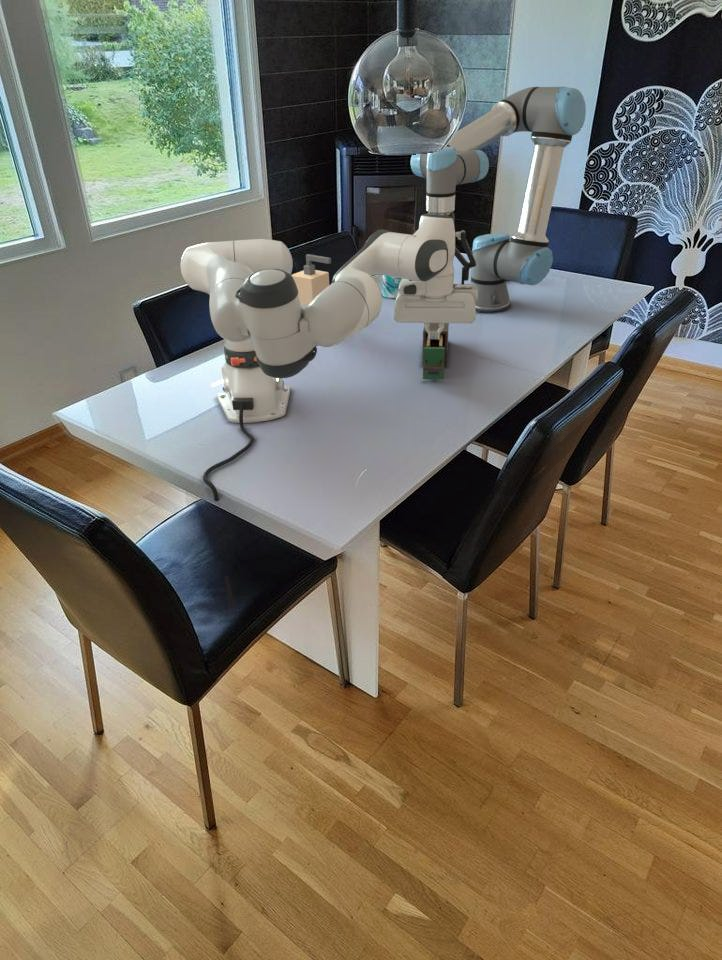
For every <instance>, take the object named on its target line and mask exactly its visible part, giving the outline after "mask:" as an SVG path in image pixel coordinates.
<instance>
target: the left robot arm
mask: <svg viewBox="0 0 722 960" xmlns="http://www.w3.org/2000/svg"><path fill="white" fill-rule="evenodd" d="M415 231H416V230H415ZM455 232H456V228H455V221H454V222H453V219H452V218H451V217H450V216H448V215H440V214H427V213H424V214H422V215H420V218H419V223H418V229H417V231H416V233H415V232H414V233H413V234H408V233H400V232H394V231H391V230H387V229H382V228H381V229H377V230H375V231H374V232H373V233H372V234H371V235H370V236H369V237H368V239H367V240H366V241H365V242H364V244H363V245H362V247H361V248H360V249H359V250H358V251H357V252H356V253H355V254H354V255H353V256H351V257H350V258H349V259H348V260H347V261H346V262H345V263H344V264H343V265H342V266H341V267H340V268H339V269H338V270H337V271H336V272H335V273H334V275H333V277H332V279H331V283H330V284H329V286H328V287H327V288H325V289H324V290H323V291H322V292H320V293H319V294H318V295H317V296H316V297H315V298H314V299H313V300H312V301H311V302H310V303H309V304H307V305H303V306H301V305H300V301H299V298H298V289H297V286H296V283H295V281H294V279H293V277H292V275H293V274H292V272H293V269H294V268H293V267H294V265H293V264H294V263H293V262H294V261H293V257H292V254H291V251H290V249H289V247H288V246H287V245H286V244H285V243H284V242H283V241H281V240H275V239H269V238H254V239H253V238H252V239H238V240H226V241H223V240H222V241H210V242H204V243H199V244H195V245H192V246H188V247H187V248H186V249H185V250H184V251H183V253H182V256H181V259H180V266H179V267H180V273H181V276H182V279H183V280H184V281H185V283H186V284H187V286H188V287H189V288H191V289H192V290H194V291H198V292H202V293H205V294H208V295H209V301H208V302H209V304H208V306H209V316H210V321H211V323H212V326H213V329H214V331H215V332H216V333H217V335H218V336H219V337H221V338H222V339H223V340H224V345H223V355H224V359H225V363H224V364H223V365H222V366H221V367H220V369H221V377H222V379H220V380H218V381H216V382H213V383H211V387H212V388H213V387H216V386H219V385H220V384H223V386H222V392H219V393H218V394H217V401H218V403H219V404H220V405H219V406H220V407H221V409H222V411H223V413H224V415H225V418H226V419H227V421H228V422H229V423H235V424H236V423H237V424H239V428H240V430H241V432H242V433H243V434H244V435H245V436H246V437H247V438H248V439H249V442H248V443H247V444H246V445H245V446H244V447H242V448H241V449H240V450H239V451H237V452H236V453H234V454H233V455H231V456H230V457H228V458H225V459H224V460H221V461H219V462H217V463H215V464H213V465H211V466H210V467H208V468H207V469H206V470H205V471H204V473H203V475H202V480H203V482H204V483H205V484H206V485H207V486H208V487H209V488H210V489H211V492H212V494H213V498H214V499H213V500H214V501H215V502H218V501H219V500H220V499H219V493H218V490H217V488H216V486H215V485H214V484H213V482H212V481H211V480H210V479H208V476H209V475H210V473H211V472H212V471H214V470H216V469H218V468H220V467H223V466H224V465H227V464H228V463H230V462H232V461H234V460H236V459H237V458H238V457H240V456H241V455H243V454H244V453H245V452H247V451H248V450H249V449H250V448H251V447H252V446H253V444H254V441H255V440H254V439H255V438H254V436H253V435H252V434H250V433H249V432H248V431H247V430H246V429H245V426H244V424H249V423H258V422H266V421H272V420H276V419H279V418H283V417H284V416H285V415H286V413H287V409H288V405H289V399H290V396H291V392H292V391H291V387H290V386H288V385H285V381H284V380H282V379H287V378H292V377H294V376H296V375H298V374H300V373H301V372H302V371H303V370H304V369H305V368H307V366H308V365H309V364H310V363H311V362H312V361H313V360H314V359H315V358H316V356H317V354H318V347H322V348H331V347H334V346H336V345H339V344H341V343H344V342H346V341H347V340H349V339H351V338H353V337H354V336H356V335H358V334H359V333H360V332H362V331H363V330H364V329H366V328H367V327H368V326H370V325H371V324H372V323H373V322H374V321H375V320H376V319H377V318H378V317H379V315H380V313H381V310H382V307H383V306H382V305H383V297H382V296H383V295H382V292H381V289H380V286H379V285H378V283H377V281H376V280H375V279H374V278H373V276H383V275H385V276H391V277H397V278H403V279H402V280H401V282H400V284H399V292H398V294H397V297H396V298H395V300H394V306H393V320H394V322H395V323H398V324H399V323H400V324H401V323H403V324H407V323H408V324H413V323H414V324H423V329H424V328H425V330H426V331H427V333H428V339H429V340H430V339H434V340H440V333H441V332H442V330H443V328H444V325H445V323H449V324H473V323H474V322H475V321H476V316H477V311H476V307H475V302H476V301H477V300H478V293H479V292H478V289H477V288H476V287H475V286H473V285H472V284H470V283H466V284H465V283H464V284H461V283H455V268H454V258H455V247H456V237H455ZM472 288H475V289H472ZM430 323H439V329H438V331H431V330H430V328H429V326H430ZM223 578H224V582H225V587H226V592H227V597H228V603H229V607H230V609H231V608H232V609H233V608H234V609H235V605H234V598H233V594H232V589H231V583H230V577H229V575H225V576H224V577H223Z"/></svg>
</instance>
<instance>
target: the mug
mask: <svg viewBox="0 0 722 960" xmlns="http://www.w3.org/2000/svg"><path fill="white" fill-rule="evenodd" d="M402 279H403V278H397V277H391V276H385V275H382V296H383V297H385V298H388V299H396V297H397V294H398V292H399V284H400V282H401V280H402Z"/></svg>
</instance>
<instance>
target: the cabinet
mask: <svg viewBox="0 0 722 960" xmlns="http://www.w3.org/2000/svg"><path fill="white" fill-rule="evenodd" d="M449 325H450V323H445V325H444V328H443V330H442V332H441V333H440V334H443V347H445V353H444V368H448V367H447V366H448V350H449V349H448V348H449V347H448V346H449V329H450V327H449ZM429 328H430V330H431V331H438V329H439V323H430V326H429ZM427 337H428V333H427V331H426V330H425V328H424V327H423V330H422V348H423V347H426V345H427Z"/></svg>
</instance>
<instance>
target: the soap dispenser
mask: <svg viewBox="0 0 722 960" xmlns="http://www.w3.org/2000/svg"><path fill="white" fill-rule="evenodd" d="M305 262H306V263H305V265H303V270H300V271H298V272H295V273H292V274H291V275H292V277H293V279H294V281H295V283H296V286H297V289H298V298H299V301H300V305H301V306H303V305H307V304H309V303H310V302H311V301H312V300H313V299H314V298H315V297H316V296H317V295H318V294H319V293H320V292H322V291H323V290H324V289H325V288H327V287H328V286H329V285H330V273H329V271H325V270H324V271H323V270H318V269H316V265H315V264H313V263H312V262H317V263H321V264H326V265H327V264H328V265H329V264H332V258H331V257H327V256H322V255H315V254H309V253H307V254H305Z"/></svg>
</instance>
